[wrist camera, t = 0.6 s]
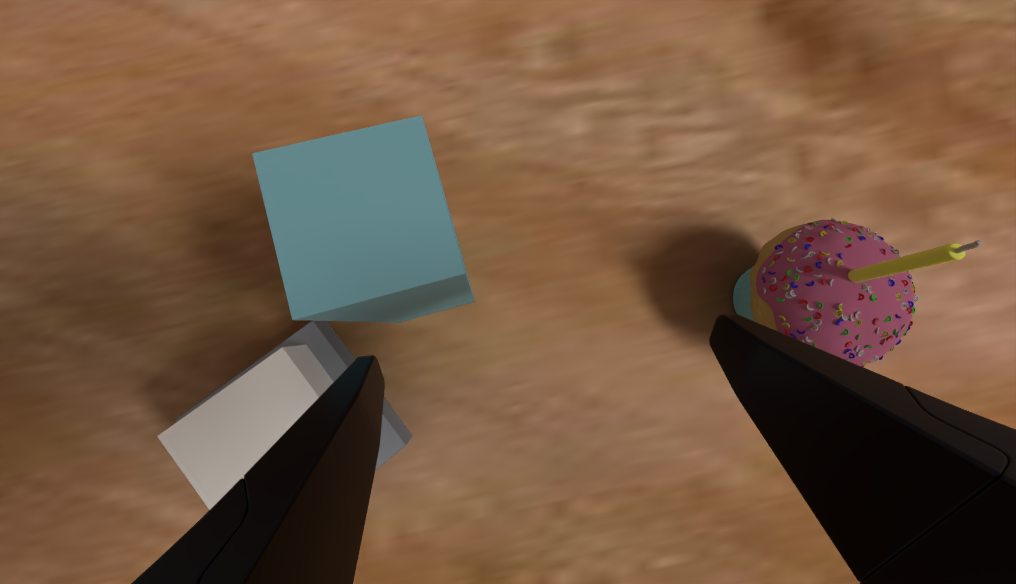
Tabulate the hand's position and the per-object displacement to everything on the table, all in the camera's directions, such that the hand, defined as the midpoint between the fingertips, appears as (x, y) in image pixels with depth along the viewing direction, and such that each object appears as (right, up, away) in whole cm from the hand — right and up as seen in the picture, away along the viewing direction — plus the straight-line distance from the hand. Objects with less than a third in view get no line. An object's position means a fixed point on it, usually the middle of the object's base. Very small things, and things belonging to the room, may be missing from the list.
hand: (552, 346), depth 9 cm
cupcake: (+17, +1, +16) cm, 23 cm away
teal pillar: (-6, +3, +14) cm, 16 cm away
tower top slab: (-13, -6, +11) cm, 18 cm away
